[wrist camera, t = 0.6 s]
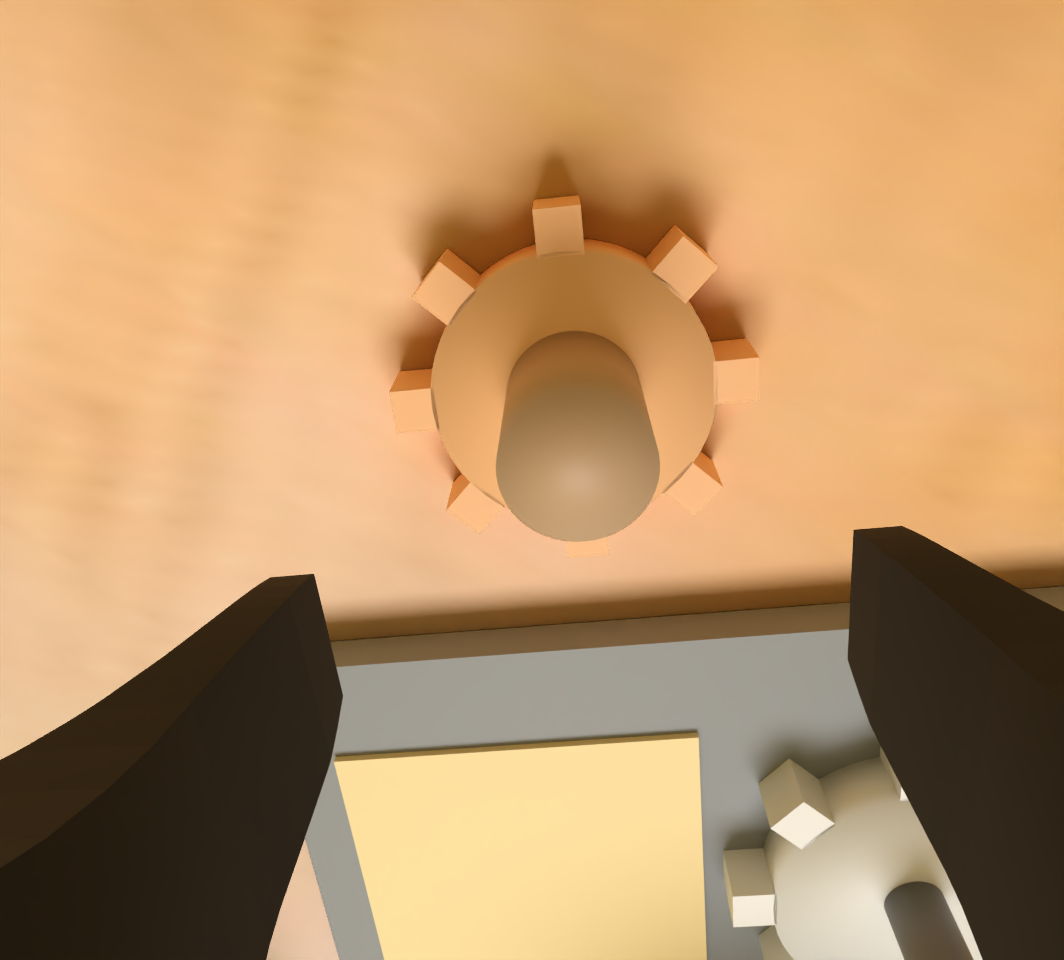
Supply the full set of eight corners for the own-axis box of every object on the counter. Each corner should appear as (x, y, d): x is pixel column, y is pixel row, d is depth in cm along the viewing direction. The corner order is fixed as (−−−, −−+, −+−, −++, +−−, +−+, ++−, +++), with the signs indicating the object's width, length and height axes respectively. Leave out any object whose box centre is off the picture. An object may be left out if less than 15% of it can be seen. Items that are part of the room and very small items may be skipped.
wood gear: (745, 176, 19) (810, 215, 14) (747, 513, 23) (801, 639, 18) (372, 217, 20) (311, 267, 15) (429, 539, 23) (394, 669, 18)
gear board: (1092, 583, 23) (1247, 734, 18) (1026, 951, 29) (1129, 1146, 24) (270, 646, 25) (194, 802, 20) (363, 985, 31) (323, 1175, 25)
